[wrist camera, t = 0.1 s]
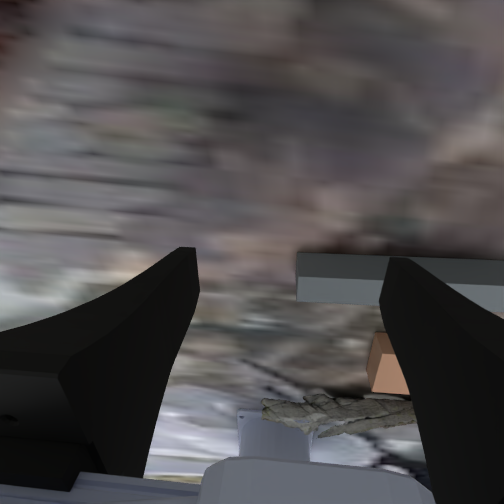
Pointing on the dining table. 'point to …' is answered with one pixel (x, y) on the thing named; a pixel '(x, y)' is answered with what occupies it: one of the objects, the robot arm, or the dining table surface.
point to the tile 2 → (385, 367)
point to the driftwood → (339, 413)
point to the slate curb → (373, 273)
